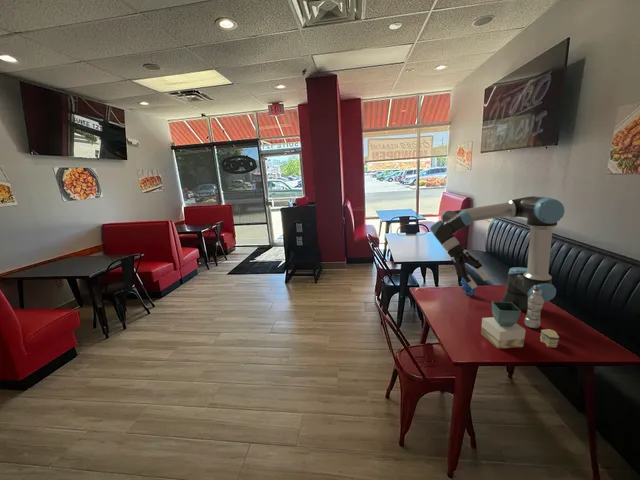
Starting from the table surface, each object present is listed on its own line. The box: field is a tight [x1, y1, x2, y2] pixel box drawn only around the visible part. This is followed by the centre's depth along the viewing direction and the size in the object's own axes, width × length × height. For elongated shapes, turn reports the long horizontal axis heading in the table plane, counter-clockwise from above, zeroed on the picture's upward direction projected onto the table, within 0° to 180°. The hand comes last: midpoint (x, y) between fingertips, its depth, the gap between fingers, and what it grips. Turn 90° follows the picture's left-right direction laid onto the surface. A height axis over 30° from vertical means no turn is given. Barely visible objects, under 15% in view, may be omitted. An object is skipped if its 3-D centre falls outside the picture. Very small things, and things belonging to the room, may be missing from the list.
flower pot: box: [491, 301, 522, 326], centre depth 123 cm, size 9×9×9 cm
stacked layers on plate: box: [539, 328, 560, 348], centre depth 122 cm, size 10×9×6 cm
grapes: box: [460, 278, 476, 297], centre depth 173 cm, size 12×7×12 cm, turn 16°
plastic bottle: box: [523, 289, 544, 329], centre depth 134 cm, size 6×7×20 cm
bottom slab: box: [480, 326, 526, 349], centre depth 126 cm, size 12×12×4 cm
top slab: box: [481, 316, 526, 341], centre depth 125 cm, size 12×12×4 cm
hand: (481, 283), depth 129 cm, fingers open, 13 cm apart
